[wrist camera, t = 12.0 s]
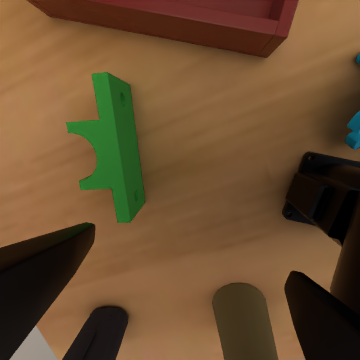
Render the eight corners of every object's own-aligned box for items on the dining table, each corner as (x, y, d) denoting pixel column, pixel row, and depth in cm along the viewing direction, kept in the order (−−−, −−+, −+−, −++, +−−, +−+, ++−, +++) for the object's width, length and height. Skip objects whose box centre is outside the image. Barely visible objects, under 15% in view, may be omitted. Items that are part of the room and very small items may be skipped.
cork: (206, 288, 23) (211, 431, 12) (259, 278, 22) (315, 424, 11) (220, 327, 24) (236, 487, 13) (271, 320, 23) (331, 486, 12)
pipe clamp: (91, 89, 18) (55, 77, 14) (130, 85, 18) (107, 71, 13) (110, 203, 21) (87, 224, 16) (145, 202, 20) (130, 223, 16)
